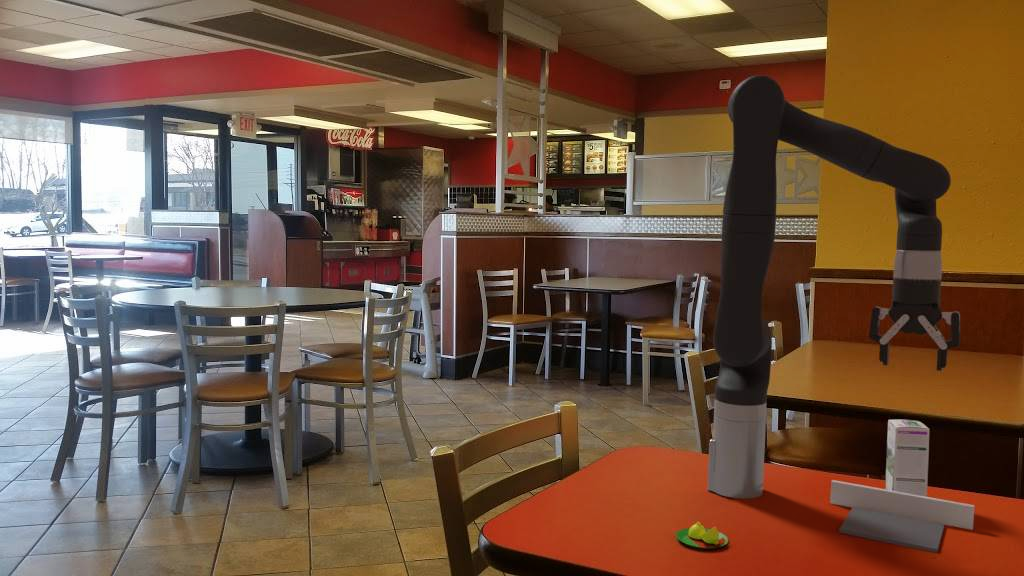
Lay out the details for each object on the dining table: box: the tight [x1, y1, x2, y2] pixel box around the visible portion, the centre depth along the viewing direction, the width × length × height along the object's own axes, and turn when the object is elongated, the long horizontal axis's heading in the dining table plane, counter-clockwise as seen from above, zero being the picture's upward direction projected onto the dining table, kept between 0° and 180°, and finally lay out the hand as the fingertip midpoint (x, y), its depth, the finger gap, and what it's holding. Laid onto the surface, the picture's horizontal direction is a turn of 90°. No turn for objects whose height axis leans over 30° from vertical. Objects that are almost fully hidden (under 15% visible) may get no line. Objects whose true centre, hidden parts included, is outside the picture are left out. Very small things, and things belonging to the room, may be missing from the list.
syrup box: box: [884, 418, 930, 497], centre depth 142 cm, size 6×6×14 cm
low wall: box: [829, 479, 975, 531], centre depth 136 cm, size 22×1×4 cm, turn 57°
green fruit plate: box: [675, 521, 729, 550], centre depth 124 cm, size 8×8×3 cm
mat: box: [838, 507, 945, 554], centre depth 129 cm, size 14×12×1 cm
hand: (912, 367), depth 141 cm, fingers open, 8 cm apart
